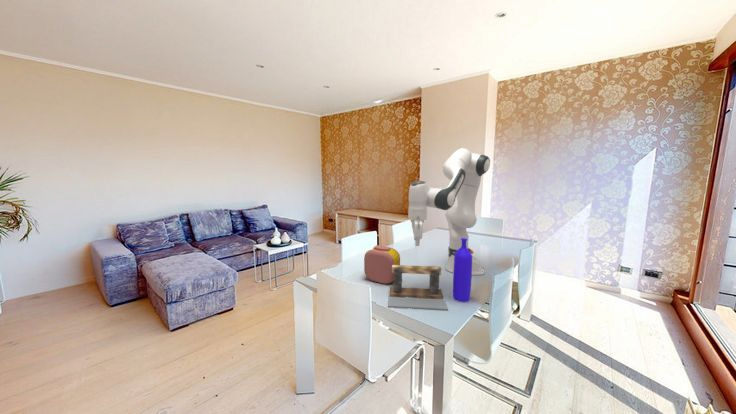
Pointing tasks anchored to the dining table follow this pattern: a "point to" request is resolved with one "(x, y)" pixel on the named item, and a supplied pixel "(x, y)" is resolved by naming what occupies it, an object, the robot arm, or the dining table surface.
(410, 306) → the mat
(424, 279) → the dining table surface
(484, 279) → the dining table surface
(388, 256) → the alarm clock
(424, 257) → the dining table surface
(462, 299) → the bottle
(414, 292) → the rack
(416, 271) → the rail
